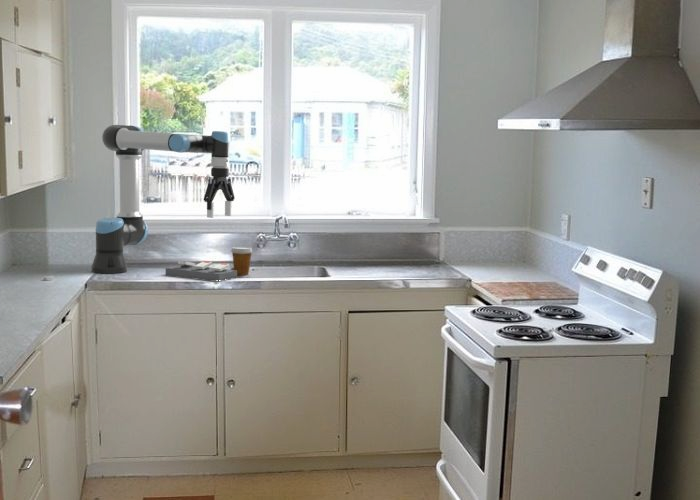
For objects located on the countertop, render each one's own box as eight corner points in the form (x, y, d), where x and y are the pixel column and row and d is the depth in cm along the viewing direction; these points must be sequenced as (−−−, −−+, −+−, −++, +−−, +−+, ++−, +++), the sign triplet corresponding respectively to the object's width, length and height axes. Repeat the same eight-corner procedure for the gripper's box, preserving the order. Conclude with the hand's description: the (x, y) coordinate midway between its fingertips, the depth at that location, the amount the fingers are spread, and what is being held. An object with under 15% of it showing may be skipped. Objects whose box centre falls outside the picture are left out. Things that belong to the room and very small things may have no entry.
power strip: (165, 275, 371) (165, 266, 370) (184, 271, 383) (184, 263, 383) (219, 281, 359) (219, 272, 359) (237, 277, 372) (237, 269, 371)
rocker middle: (194, 268, 370) (194, 265, 370) (203, 263, 376) (203, 260, 376) (203, 269, 368) (202, 266, 368) (212, 264, 374) (211, 261, 374)
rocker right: (212, 270, 366) (211, 267, 366) (220, 265, 372) (220, 262, 372) (220, 271, 364) (220, 268, 364) (229, 266, 370) (229, 263, 370)
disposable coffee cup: (248, 276, 377) (248, 249, 375) (227, 274, 379) (228, 248, 377) (254, 273, 386) (255, 247, 385) (234, 272, 388) (235, 246, 386)
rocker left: (177, 263, 373) (178, 260, 373) (186, 265, 380) (187, 262, 380) (185, 264, 372) (186, 261, 372) (194, 265, 378) (195, 262, 378)
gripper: (210, 167, 350) (209, 218, 352) (243, 167, 372) (242, 215, 375) (195, 167, 353) (194, 217, 356) (228, 167, 376) (227, 214, 378)
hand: (219, 216), depth 365 cm, fingers open, 13 cm apart
